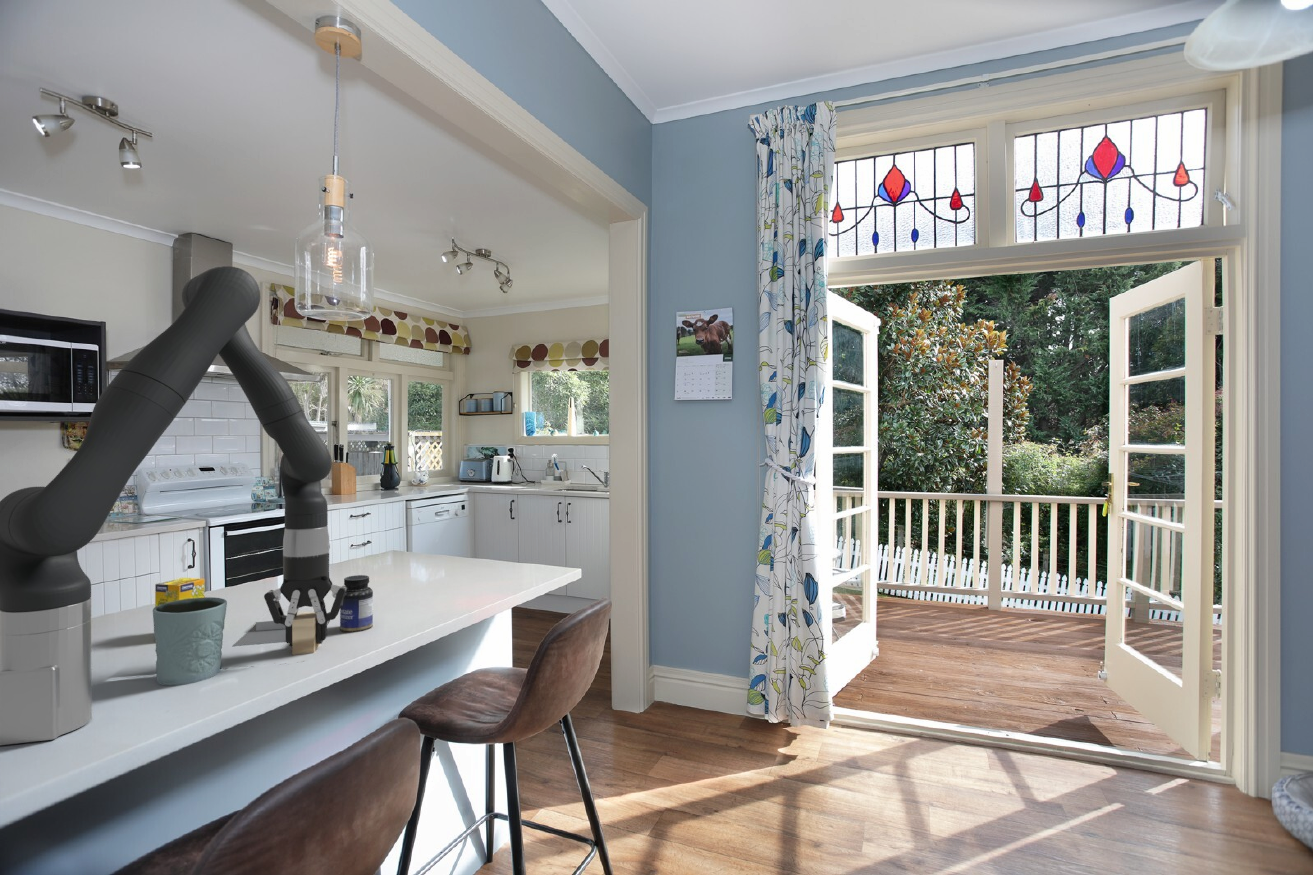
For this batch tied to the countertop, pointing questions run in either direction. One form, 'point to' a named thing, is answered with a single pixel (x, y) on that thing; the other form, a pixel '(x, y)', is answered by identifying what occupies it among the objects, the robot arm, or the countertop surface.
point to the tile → (268, 623)
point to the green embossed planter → (188, 639)
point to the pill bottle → (356, 605)
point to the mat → (262, 637)
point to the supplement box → (179, 590)
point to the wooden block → (304, 633)
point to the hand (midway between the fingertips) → (306, 643)
